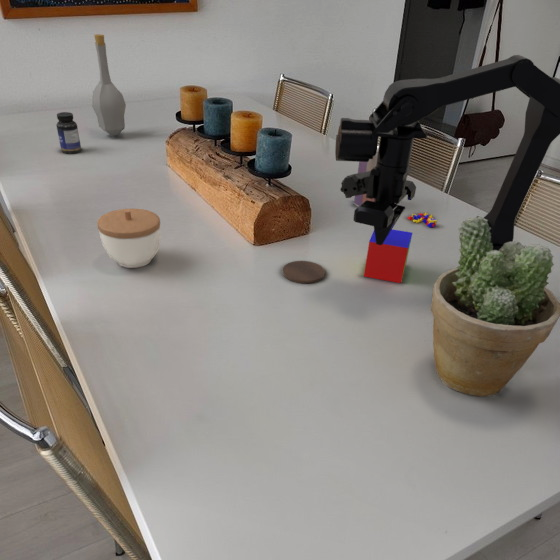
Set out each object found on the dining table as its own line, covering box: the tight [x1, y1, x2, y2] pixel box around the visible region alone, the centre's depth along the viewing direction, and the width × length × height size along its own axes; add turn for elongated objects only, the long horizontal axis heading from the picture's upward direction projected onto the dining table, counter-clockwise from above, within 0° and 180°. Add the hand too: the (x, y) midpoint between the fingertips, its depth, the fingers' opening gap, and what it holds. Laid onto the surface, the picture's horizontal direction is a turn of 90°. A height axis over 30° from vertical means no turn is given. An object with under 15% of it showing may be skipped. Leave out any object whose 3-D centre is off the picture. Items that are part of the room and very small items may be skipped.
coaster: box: [282, 260, 326, 284], centre depth 116 cm, size 9×9×1 cm
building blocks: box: [407, 212, 438, 228], centre depth 141 cm, size 6×8×2 cm
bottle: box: [91, 33, 127, 137], centre depth 178 cm, size 11×11×30 cm
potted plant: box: [430, 216, 560, 397], centre depth 83 cm, size 18×19×25 cm
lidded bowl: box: [96, 208, 161, 269], centre depth 114 cm, size 13×13×11 cm
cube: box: [363, 228, 413, 284], centre depth 116 cm, size 8×8×8 cm
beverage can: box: [353, 144, 379, 208], centre depth 143 cm, size 6×6×15 cm
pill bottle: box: [55, 111, 82, 155], centre depth 170 cm, size 6×6×11 cm
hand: (379, 244), depth 106 cm, fingers closed
